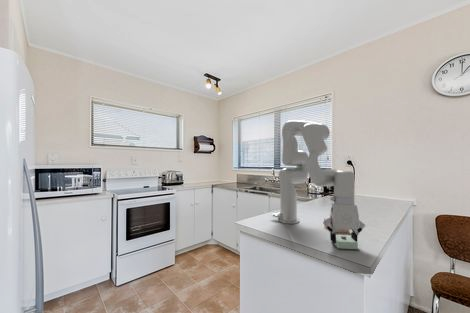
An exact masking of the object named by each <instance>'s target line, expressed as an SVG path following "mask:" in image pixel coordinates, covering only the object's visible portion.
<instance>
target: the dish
mask: <svg viewBox="0 0 470 313" xmlns="http://www.w3.org/2000/svg"><path fill="white" fill-rule="evenodd" d="M327 219H328V218H323V222H324V221H326V220H327ZM328 225H329V227H330V228H331V226H332V225H331V224H330V223H329V224H328ZM323 226H324V228H325V229H326V230H328V229H327V228H326V227H325V225H324V224H323ZM328 231H329V230H328ZM335 233H346V234H347V233H350V230H348V229H337V230H336V231H335Z"/></svg>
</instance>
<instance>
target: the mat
mask: <svg viewBox="0 0 470 313" xmlns="http://www.w3.org/2000/svg"><path fill="white" fill-rule="evenodd" d="M330 243H331V244H332V245H333V247H335V248H336V249H337V251H341V252H342V251H344V252H345V251H346V252H349V251H350V252H360V250H359V249H343V248H337V247H336V246H335V244H334V243H333V242H332V241H331V242H330Z"/></svg>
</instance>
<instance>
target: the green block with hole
mask: <svg viewBox="0 0 470 313" xmlns="http://www.w3.org/2000/svg"><path fill="white" fill-rule="evenodd" d="M335 246H336V247H337V248H343V249H358V248H359V244H358V241H357V242H356V241H355V240H354V239H352V238H351V235H348V234H336V243H335ZM335 246H334V247H335ZM336 247H335V248H336ZM337 248H336V249H337ZM358 250H359V249H358Z"/></svg>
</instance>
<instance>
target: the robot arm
mask: <svg viewBox="0 0 470 313" xmlns="http://www.w3.org/2000/svg"><path fill="white" fill-rule="evenodd" d="M281 135H282V155H281V156H282V157H281V158H282V159H281V160H282V164H283V165H284V166H288V167H285V168H281V169H280V170H279V172H278V180H279V189H280V193H279V194H280V195H279V196H280V208H279V210H280V211H279V212H277V213H274V212H273V213H272V217H273V218H277V221H278V222H279V223H283V224H287V225H290V224H291V225H294V224H298V223H300V218H299V217H298V216H297V215H298V210H297V209H298V204H297V203H298V202H297V201H298V199H297V198H298V196H297V195H298V193H297V188H296V186H294V185H295V184H297V185H298V184H304V183H306V182H307V180H308V175H309V178H310V180H311V182H312V183H313V185H315V186H317V187H333V196H331V197H330V201H331V202H332V203H331V207H330V213H329V218H326V219H327V220H326V221H324V220H323V222H322V223H323V226H324V225H325V227H326V228H327V229H328V231H329V233H330V236H329V239H330V241H331V242H333V243H334V244H335V243H336V235H337V234H336V232H335V231H336V230H337V229H348V230H349V231H352V232H351V233H350V237H351V238H352V239H354V240H355V241H356V242H357V243H358V235H360V233H361V232H362V231H363V229H365V227H366V224H365V223H364V222H362V221H361V220H360V217H359V216H360V215H359V209H358V205H357V204H356V203H355V188H356V187H355V183H356V182H355V180H356V179H355V177H356V176H355V173H354V172H353V171H349V170H339V169H335V168H334V169H332V168H331V169H327V168H325V169H323V168H322V169H321V167H320V163H319V157H320V156H322V155H324V154H325V153H326V152H327V151H328V146H327V144H326V142H325V140H327V139H329V137H330V129H329V127H328V125H326V124H324V123H318V122H313V121H309V120H308V121H307V120H306V121H305V120H293V119H291V120H288V121H286V122H284V124H283V126H282V129H281ZM296 136H297V137H299V136H301V137H302V138H303V142H305V145H306V148H307V151H308V153H309V154H308V153H307V152H306V151H305V150H299V149H298V147H299V146H298V145H299V143H298V139H297V138H296ZM329 223H330V224H331V225H332V226H331V228H330V227H329V225H328V224H329ZM325 227H324V228H325ZM326 228H325V229H326ZM327 229H326V230H327Z"/></svg>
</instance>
